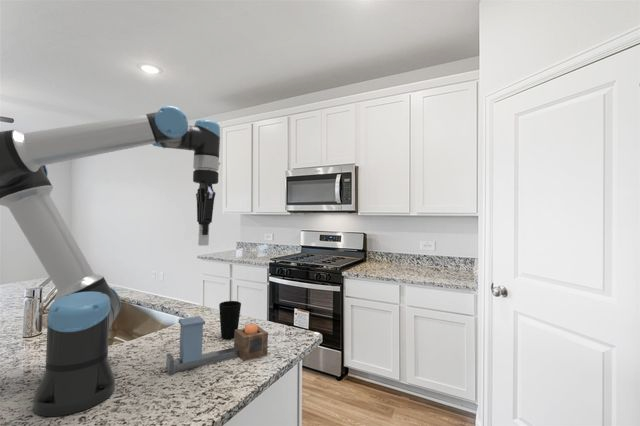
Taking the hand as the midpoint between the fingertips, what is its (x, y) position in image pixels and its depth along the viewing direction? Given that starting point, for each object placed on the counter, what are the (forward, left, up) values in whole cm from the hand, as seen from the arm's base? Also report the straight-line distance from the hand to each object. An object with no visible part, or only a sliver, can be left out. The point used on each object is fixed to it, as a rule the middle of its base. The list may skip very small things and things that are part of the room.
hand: (203, 245), depth 98 cm
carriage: (-4, -6, -32) cm, 33 cm away
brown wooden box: (+14, -7, -34) cm, 38 cm away
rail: (+1, -6, -34) cm, 35 cm away
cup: (+13, +10, -35) cm, 38 cm away
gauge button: (+14, -7, -30) cm, 34 cm away
